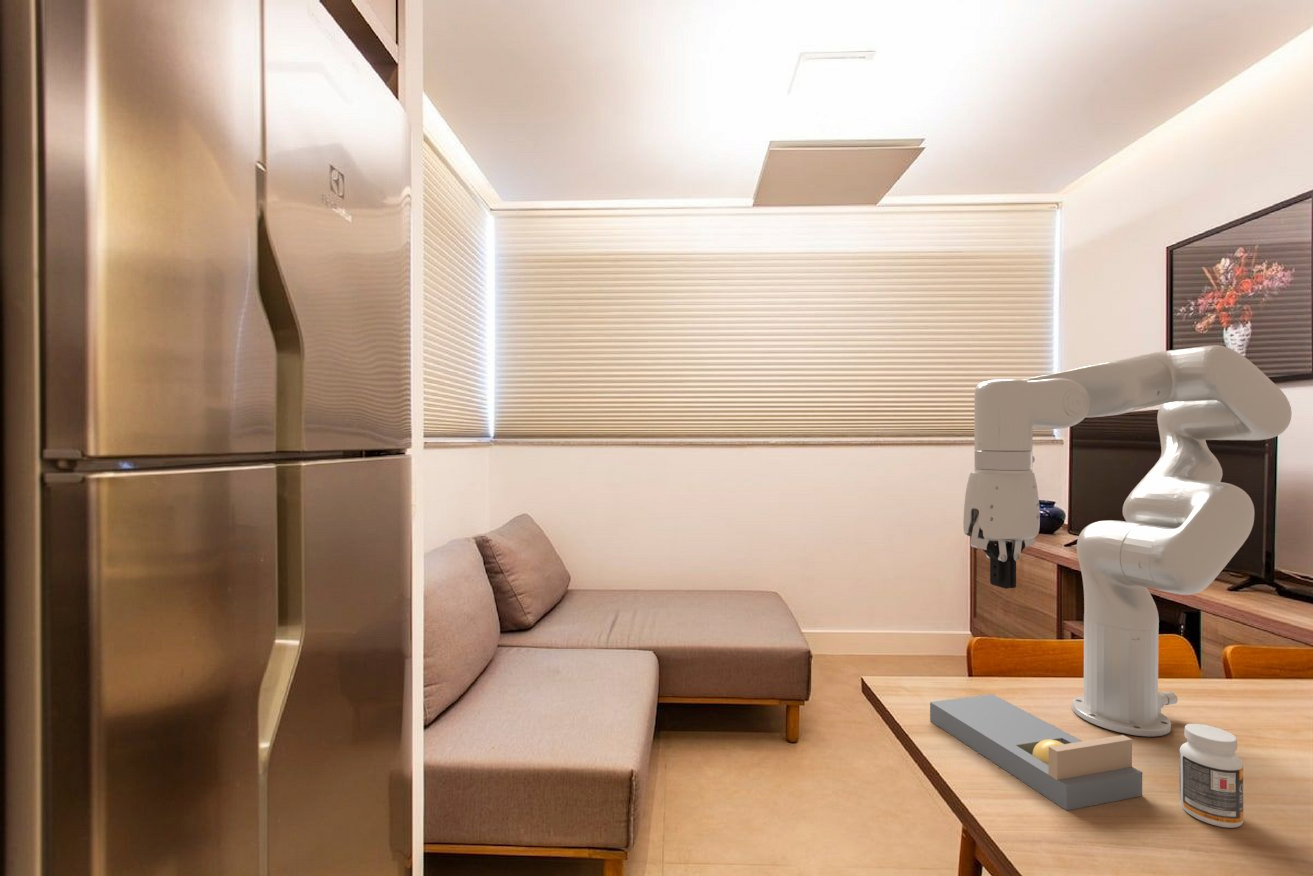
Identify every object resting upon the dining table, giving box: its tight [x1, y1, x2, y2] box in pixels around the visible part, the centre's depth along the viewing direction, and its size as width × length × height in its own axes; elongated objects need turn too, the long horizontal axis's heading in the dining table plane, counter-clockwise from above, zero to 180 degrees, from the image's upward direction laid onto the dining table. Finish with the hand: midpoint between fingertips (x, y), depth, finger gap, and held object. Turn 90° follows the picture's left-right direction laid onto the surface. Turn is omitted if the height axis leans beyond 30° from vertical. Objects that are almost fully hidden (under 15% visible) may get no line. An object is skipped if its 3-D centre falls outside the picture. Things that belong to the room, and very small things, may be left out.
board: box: [929, 693, 1143, 811], centre depth 87 cm, size 12×24×6 cm, turn 15°
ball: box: [1032, 739, 1063, 765], centre depth 81 cm, size 5×5×5 cm
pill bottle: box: [1179, 723, 1244, 829], centre depth 73 cm, size 6×6×10 cm
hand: (1002, 586), depth 91 cm, fingers closed
